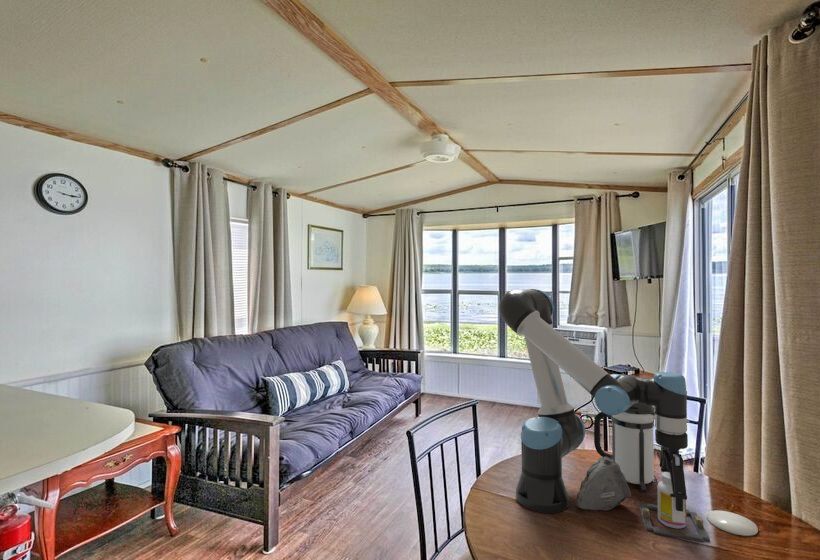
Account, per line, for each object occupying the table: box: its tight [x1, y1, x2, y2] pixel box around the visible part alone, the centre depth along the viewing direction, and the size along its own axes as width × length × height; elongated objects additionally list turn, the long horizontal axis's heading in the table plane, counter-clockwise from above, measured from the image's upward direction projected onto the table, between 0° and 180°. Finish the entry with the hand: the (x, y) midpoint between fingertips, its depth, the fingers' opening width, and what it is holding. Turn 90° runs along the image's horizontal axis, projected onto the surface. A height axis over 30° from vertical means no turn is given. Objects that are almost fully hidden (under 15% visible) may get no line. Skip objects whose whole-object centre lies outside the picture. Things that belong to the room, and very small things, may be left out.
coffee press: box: [593, 403, 658, 493], centre depth 139 cm, size 17×16×30 cm
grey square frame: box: [638, 502, 711, 543], centre depth 115 cm, size 14×14×2 cm
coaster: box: [706, 509, 759, 537], centre depth 114 cm, size 11×11×1 cm
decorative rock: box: [576, 456, 632, 512], centre depth 122 cm, size 16×7×15 cm, turn 93°
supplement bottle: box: [657, 472, 687, 530], centre depth 115 cm, size 7×7×13 cm
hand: (672, 508), depth 114 cm, fingers open, 13 cm apart
